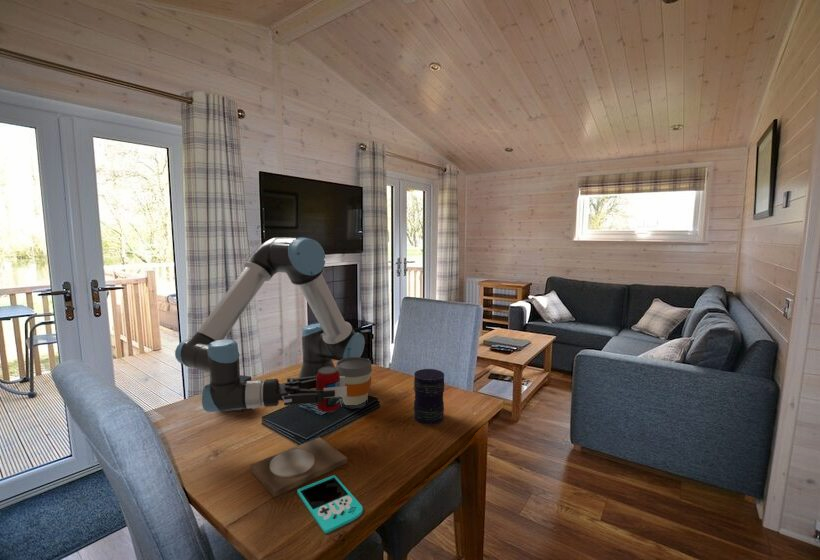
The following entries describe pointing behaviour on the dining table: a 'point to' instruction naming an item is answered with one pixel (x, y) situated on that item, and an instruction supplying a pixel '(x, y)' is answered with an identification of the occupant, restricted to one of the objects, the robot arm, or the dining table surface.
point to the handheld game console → (330, 503)
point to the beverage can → (326, 380)
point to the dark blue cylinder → (428, 396)
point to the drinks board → (297, 466)
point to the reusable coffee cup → (355, 379)
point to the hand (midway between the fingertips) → (345, 385)
